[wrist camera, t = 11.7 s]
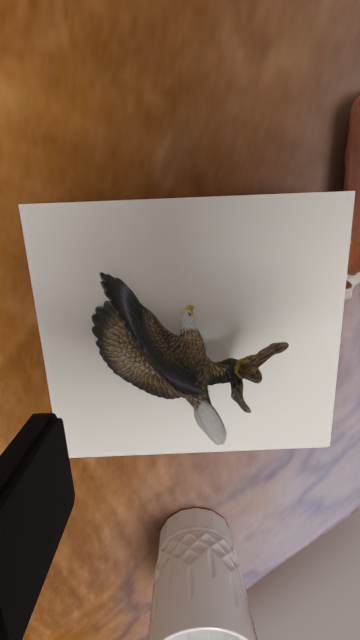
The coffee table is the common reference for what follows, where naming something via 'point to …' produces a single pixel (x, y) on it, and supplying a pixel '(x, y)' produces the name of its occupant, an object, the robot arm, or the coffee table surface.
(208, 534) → the white cup
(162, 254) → the display shelf
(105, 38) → the coffee table surface
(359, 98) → the bull figurine
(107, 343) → the eagle figurine
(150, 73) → the coffee table surface
